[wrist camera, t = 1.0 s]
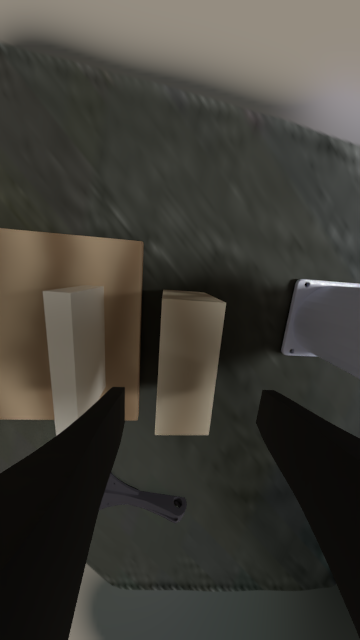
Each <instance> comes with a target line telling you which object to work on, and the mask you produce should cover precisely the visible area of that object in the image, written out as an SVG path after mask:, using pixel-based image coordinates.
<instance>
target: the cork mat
mask: <svg viewBox="0 0 360 640" xmlns="http://www.w3.org/2000/svg"><path fill="white" fill-rule="evenodd" d="M143 246H144V243H143V242H142V241H132V240H121V239H110V238H100V237H89V236H78V235H67V234H56V233H46V232H35V231H24V230H13V229H3V228H0V419H10V420H55V418H54V407H53V396H52V386H51V375H50V364H49V354H48V343H47V332H46V322H45V311H44V301H43V291H46V290H54V289H61V288H68V287H75V286H83V285H93V286H104V329H105V382H106V387H105V389H104V391H103V392H102V394H101V396H100V398H101V397H102V396H103V395H104V394H105V393H106V392H107V391H108V390H109V389H111V388H112V387H125V420H138V415H139V385H140V350H141V315H142V280H143ZM100 398H99V399H100Z"/></svg>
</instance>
